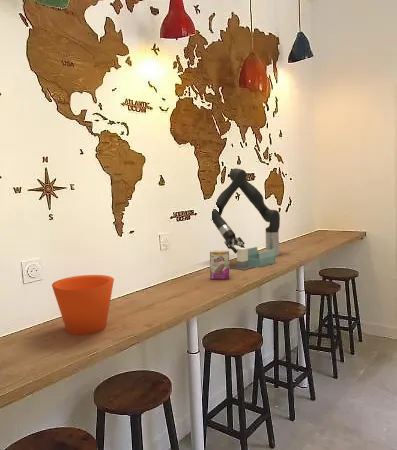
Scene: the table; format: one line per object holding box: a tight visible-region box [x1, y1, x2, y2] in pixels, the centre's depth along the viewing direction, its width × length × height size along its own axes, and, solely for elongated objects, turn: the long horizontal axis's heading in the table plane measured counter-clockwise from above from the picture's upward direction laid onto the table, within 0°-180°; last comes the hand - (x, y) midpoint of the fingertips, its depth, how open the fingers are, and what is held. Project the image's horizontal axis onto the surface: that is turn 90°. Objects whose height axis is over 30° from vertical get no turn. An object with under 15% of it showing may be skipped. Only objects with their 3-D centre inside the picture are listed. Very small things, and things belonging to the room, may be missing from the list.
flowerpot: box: [51, 274, 115, 336], centre depth 192 cm, size 25×25×20 cm
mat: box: [229, 265, 256, 271], centre depth 298 cm, size 11×12×1 cm
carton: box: [248, 246, 276, 268], centre depth 308 cm, size 17×15×10 cm
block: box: [236, 247, 249, 268], centre depth 297 cm, size 5×5×12 cm
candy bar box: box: [209, 249, 231, 280], centre depth 271 cm, size 11×5×16 cm, turn 84°
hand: (240, 251), depth 298 cm, fingers open, 8 cm apart
